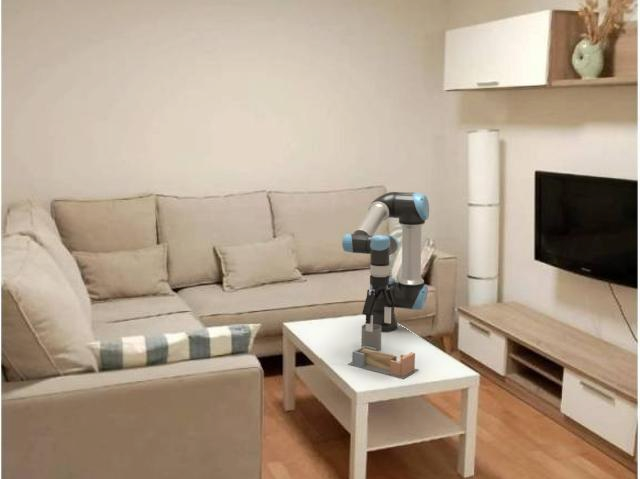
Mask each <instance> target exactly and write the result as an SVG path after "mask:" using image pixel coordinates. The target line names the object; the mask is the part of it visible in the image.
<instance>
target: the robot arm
mask: <svg viewBox="0 0 640 479" xmlns="http://www.w3.org/2000/svg"><path fill="white" fill-rule="evenodd" d="M367 210H368V211H367V213H366V215H365V216H364V217H363V218H362V220H361V222H360V223H359V224H358V226H357V227H356V229H355V230H354V232H353V233H346V234H344V236H343V237H342V242H341V245H342V249H343V251H344V252H345V253H351V254H353V253H355V254H366V255H367V254H369V255H370V259H369V261H370V262H369V264H370V265H369V267H370V269H369V271H370V272H369V274H370V276H369V284H370V285H369V289H367V290H366V298H365V301H364V304H363V309H362V312H361V314H362V315H364V316H365V324H366V331H370V332H373V324H377V325H380V326H381V333H384V332H385V333H389V332H393V331H396V330H397V329H398V325H399V324H398V319H397V316H396V313H395V308H396V309H397V308H399V309H404V310H405V309H407V310H414V311H416V310H418V311H420V310H422V309H423V308H424V307H425V305H426V302H427V299H428V293H429V287H428V285H427V284H425V280H424V278H422V277H421V276H422V264H421V263H422V227H423V226H424V225H425V224H426V220H429V216H430V204H429V200H428V197H427V195H426V194H424V193H418V192H403V191H402V192H400V191H397V192H396V191H389V192H386V193H383V194H382V195H380V196H378V197H376V198H375V199H374V200H373V201H371V203H370V205H369V206H368V209H367ZM389 218H391V219H392V218H393V219H398V224H399V225H400V226H401V227H402V228H401V237H402V238H401V277H400V278H399V279H398V282H396V279H395V278H394V277H390V276H389V275H390V256H392V255H394V254H395V252H396V251H398V248H399V240H398V239H397V237H395V236H394V235H393V234H392V235H391V234H389V235H387V234H386V235H384V234H377V235H375V234H376V233H377V231H378V229H379V228H380V227H381V224H382V223H383V222H384V221H386V220H387V219H389Z"/></svg>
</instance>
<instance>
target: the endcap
mask: <svg viewBox="0 0 640 479" xmlns="http://www.w3.org/2000/svg"><path fill="white" fill-rule="evenodd" d="M399 359H400V361H398V360H396V361H393V360H391V361H390V373H391V374H395V375H399V376H400V375H401V376H405V375H407V374H408V373H410V372H412V371H414V370H415V369H416V368H415V367H416V366H415V364H416V363H415V362H416V352H409V353H407V354H401V355H400V358H399Z"/></svg>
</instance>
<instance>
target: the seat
mask: <svg viewBox="0 0 640 479" xmlns="http://www.w3.org/2000/svg"><path fill="white" fill-rule="evenodd" d="M363 349H369V350H373V351H376V348H372V347H368V346H363V347H359V348H356V349H355V350H353V351H352V354H351V355H352V356H351V359H352V360H351V362H348V363H347V365H349V366H351V367H356V368H360V369H364V370H367V371H371V372H375V373H378V374H383V375H387V376H391V377H394V378H397V379H402V380H405V379H407V378H408V377H410V376H411V375H413V374H415V373H417V372H419V371H420V369H418V368H415V370H414V371H412V372H410V373H408V374H407V375H405V376H401V375H400V376H399V375H395V374H391V373H390V371H389V370H385V369H381V368H377V367H374V366H370V365H366V364H365V354H364V353H360V352H359V351H361V350H363Z"/></svg>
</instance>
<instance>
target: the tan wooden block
mask: <svg viewBox="0 0 640 479" xmlns="http://www.w3.org/2000/svg"><path fill="white" fill-rule="evenodd" d="M359 352H360V353H364V354H365V364H366V365H370V366H374V367H377V368H381V369H385V370H389V371H390V361H391V360H393V361H398V360H397V357H398V356H397V355H393V354H390V353H386V352H381V351H378V352H377V351H373V350H369V349H363V350H361V351H359Z"/></svg>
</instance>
